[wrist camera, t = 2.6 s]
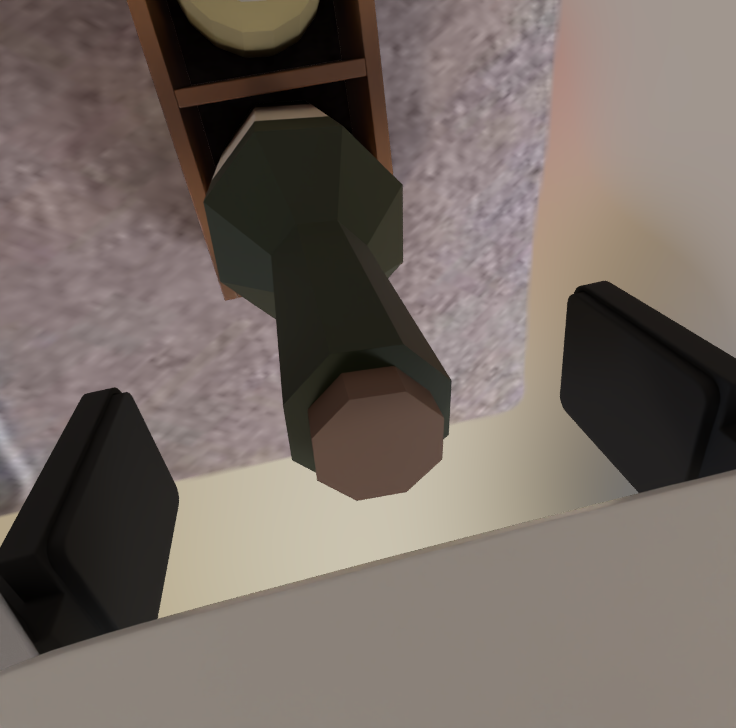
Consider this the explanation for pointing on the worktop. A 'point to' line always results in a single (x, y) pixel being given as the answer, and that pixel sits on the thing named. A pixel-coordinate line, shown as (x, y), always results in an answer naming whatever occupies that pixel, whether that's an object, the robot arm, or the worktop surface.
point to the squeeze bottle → (251, 23)
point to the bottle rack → (261, 91)
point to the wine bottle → (330, 296)
